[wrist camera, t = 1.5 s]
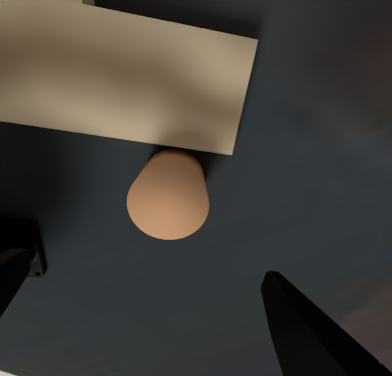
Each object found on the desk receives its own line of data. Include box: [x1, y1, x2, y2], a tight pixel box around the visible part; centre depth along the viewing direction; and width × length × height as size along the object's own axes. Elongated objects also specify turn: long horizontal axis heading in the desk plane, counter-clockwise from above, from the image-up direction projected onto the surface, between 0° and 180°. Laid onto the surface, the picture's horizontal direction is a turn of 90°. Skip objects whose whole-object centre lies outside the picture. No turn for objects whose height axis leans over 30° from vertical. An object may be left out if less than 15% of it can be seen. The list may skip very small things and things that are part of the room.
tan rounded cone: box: [127, 149, 209, 240], centre depth 14 cm, size 5×5×5 cm
